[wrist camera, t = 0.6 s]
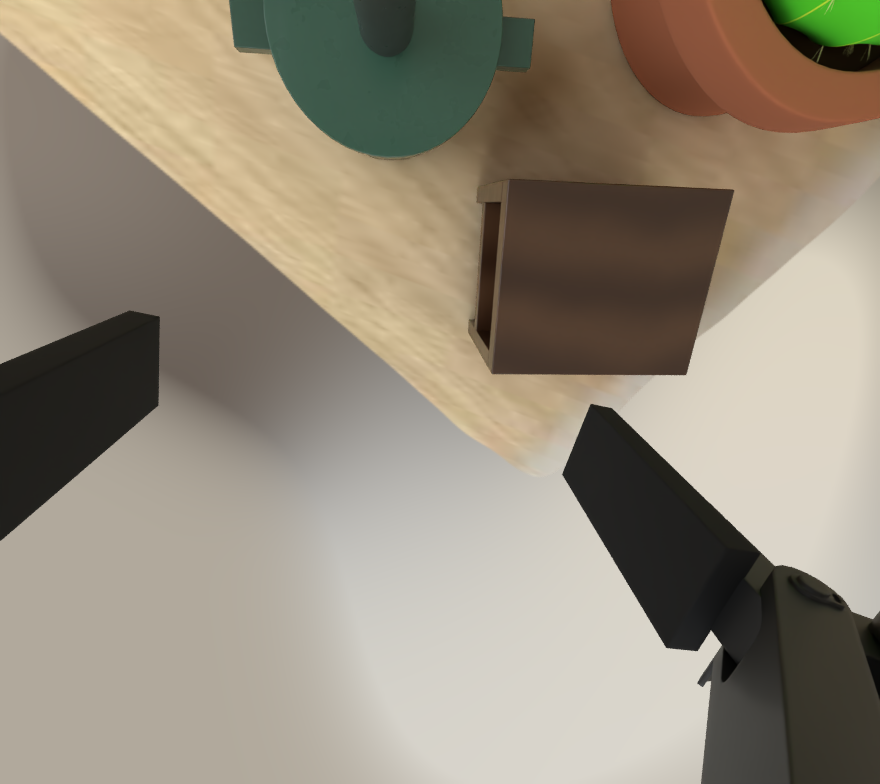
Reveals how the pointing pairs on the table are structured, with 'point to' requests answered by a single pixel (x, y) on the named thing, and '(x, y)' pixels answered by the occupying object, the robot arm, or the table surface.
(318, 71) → the lid
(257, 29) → the pot
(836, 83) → the potted cactus
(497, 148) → the table surface
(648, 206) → the wooden side table
